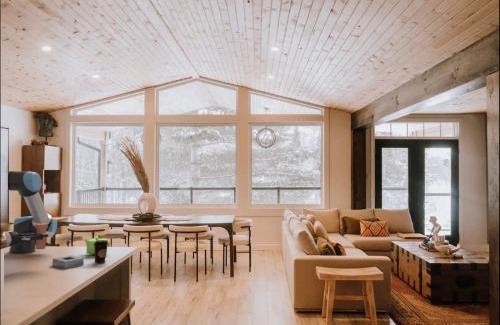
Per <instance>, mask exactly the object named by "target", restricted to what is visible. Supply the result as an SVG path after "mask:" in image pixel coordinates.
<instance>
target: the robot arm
mask: <svg viewBox="0 0 500 325" xmlns="http://www.w3.org/2000/svg"><path fill="white" fill-rule="evenodd" d="M7 172H8V191H11V192H12V191H13V192H15V191H17V192H18V195H19V196H21V197H23V198H24V201H25V203H26V206H27V208H28V210H29V212H30V215H29V216H21V217H20V216H19V217H16V218H15V219H14V220H13V225H12V226H13V231H9V232H8V231H7V232H6V233H5V237H6V240H7V245H6V247H9V254H16V255H17V254H18V255H19V254H20V255H21V254H31V253H35V252H36V250H37V249H36V243H35V241H36V240H40V239H41V240H42V239H43V238H46V239H49V238H53V237H54V236H55V234H56V232H57V228H58V219H56V218H52V216H51V215H50V214H49V213H48V212H47V209H46V207H45V205H44V203H43V199H42V197H41V194H40V190H41V189H42V186H43V185H42V184H43V183H42V178H41V176H40V174H39V173H38V172H35V171H30V170H29V171H16V170H9V171H7ZM8 191H7V192H8ZM43 223H45V224H48V228H46V233H43V234H37V235H36V233H37V229H36V224H43Z"/></svg>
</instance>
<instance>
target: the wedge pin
mask: <svg viewBox="0 0 500 325" xmlns="http://www.w3.org/2000/svg"><path fill="white" fill-rule="evenodd" d="M46 228H48V224H45V223H43V224H36V229H37V233H36V235H37V234H43V233H46ZM46 241H47V238H43V239H42V240H41V239H40V240H35V248H36V249H35V250H45V249H46V246H47V245H46V243H47V242H46Z"/></svg>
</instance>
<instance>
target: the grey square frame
mask: <svg viewBox="0 0 500 325" xmlns="http://www.w3.org/2000/svg"><path fill="white" fill-rule="evenodd" d="M84 259H85V258H83V257H80V256H76V255H66V256H60V257H54V258H52V264H51V265H52V267H55V268H60V269H63V270H66V269H71V268H76V267H81V266H84V264H85V263H84Z"/></svg>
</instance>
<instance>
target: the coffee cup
mask: <svg viewBox="0 0 500 325" xmlns="http://www.w3.org/2000/svg"><path fill="white" fill-rule="evenodd" d="M107 242H109V241H108V239H107V240H98V241H95V243H94V252H95V253H94V254H93V255H94V263H95V264H103V263H105V262H106V257H107V254H108V245H109V244H108V243H107Z"/></svg>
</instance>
